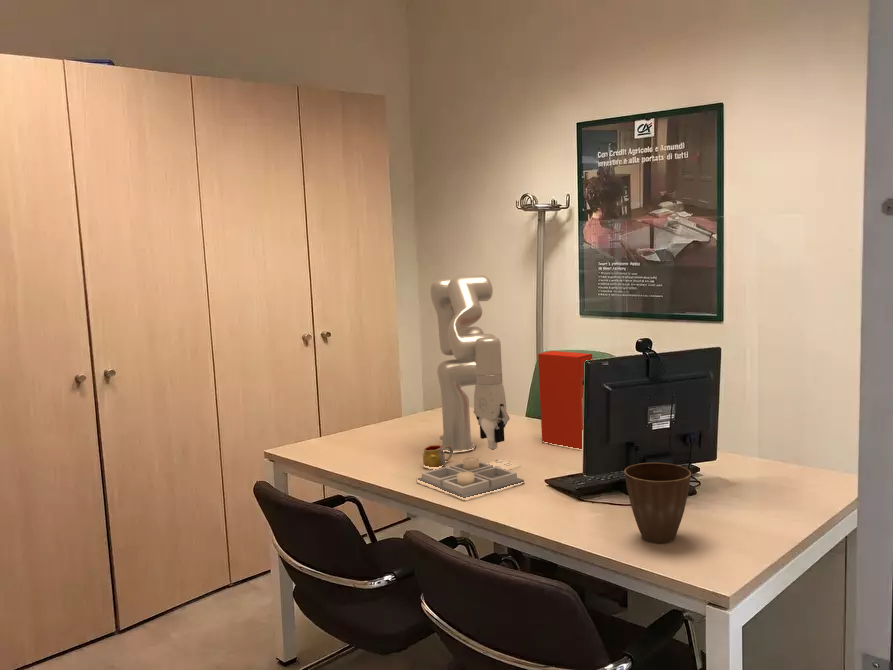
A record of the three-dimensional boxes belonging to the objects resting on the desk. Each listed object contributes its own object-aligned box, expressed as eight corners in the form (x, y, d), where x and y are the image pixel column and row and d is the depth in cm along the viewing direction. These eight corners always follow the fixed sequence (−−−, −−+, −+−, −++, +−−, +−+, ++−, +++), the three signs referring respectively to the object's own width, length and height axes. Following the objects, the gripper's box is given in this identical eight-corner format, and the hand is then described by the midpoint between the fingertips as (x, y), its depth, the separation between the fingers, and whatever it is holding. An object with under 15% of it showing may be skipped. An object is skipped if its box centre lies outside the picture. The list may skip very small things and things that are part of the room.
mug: (432, 472, 244) (431, 451, 243) (418, 467, 249) (417, 447, 249) (460, 463, 252) (459, 443, 251) (446, 459, 257) (445, 440, 256)
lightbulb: (488, 446, 231) (486, 410, 230) (507, 447, 228) (505, 411, 227) (478, 451, 226) (476, 414, 225) (497, 453, 223) (495, 415, 222)
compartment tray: (416, 482, 233) (415, 466, 233) (474, 467, 246) (473, 451, 245) (464, 501, 214) (463, 483, 213) (524, 483, 227) (523, 466, 226)
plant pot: (659, 521, 191) (658, 458, 189) (706, 540, 178) (705, 472, 176) (613, 534, 184) (611, 469, 182) (657, 555, 171) (655, 485, 169)
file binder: (581, 451, 259) (578, 357, 255) (541, 443, 271) (538, 353, 268) (595, 446, 264) (592, 353, 260) (556, 438, 277) (552, 350, 273)
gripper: (461, 378, 230) (464, 437, 232) (498, 384, 216) (501, 447, 218) (481, 374, 234) (484, 433, 236) (518, 380, 220) (521, 442, 222)
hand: (492, 439), depth 227 cm, fingers closed on lightbulb, 6 cm apart
